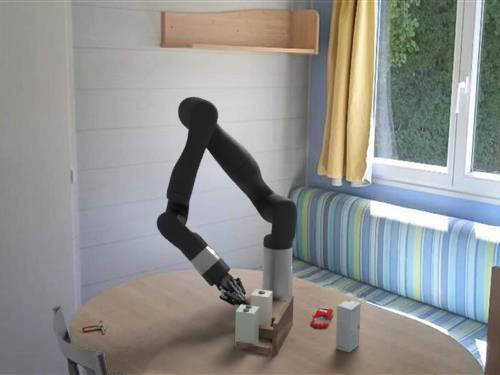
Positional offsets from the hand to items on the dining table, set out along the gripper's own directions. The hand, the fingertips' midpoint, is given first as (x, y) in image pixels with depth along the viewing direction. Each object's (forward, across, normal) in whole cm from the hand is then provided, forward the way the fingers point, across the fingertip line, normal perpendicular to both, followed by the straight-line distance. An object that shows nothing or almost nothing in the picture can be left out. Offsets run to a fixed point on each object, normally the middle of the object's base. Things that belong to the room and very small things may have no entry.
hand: (250, 311), depth 180 cm
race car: (+18, +10, -9) cm, 22 cm away
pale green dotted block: (+5, -12, +1) cm, 13 cm away
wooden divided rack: (+7, -6, +1) cm, 9 cm away
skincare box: (+24, -2, -16) cm, 28 cm away
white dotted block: (+5, 0, +1) cm, 5 cm away
